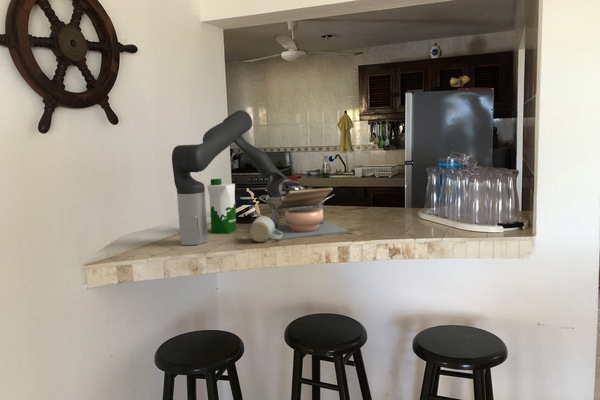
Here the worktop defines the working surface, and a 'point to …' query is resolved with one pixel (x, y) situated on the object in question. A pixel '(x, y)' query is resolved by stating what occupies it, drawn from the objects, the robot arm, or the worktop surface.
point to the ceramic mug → (264, 229)
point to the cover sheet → (304, 198)
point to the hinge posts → (275, 220)
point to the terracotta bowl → (304, 219)
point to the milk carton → (222, 206)
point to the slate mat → (324, 230)
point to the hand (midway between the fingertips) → (305, 193)
